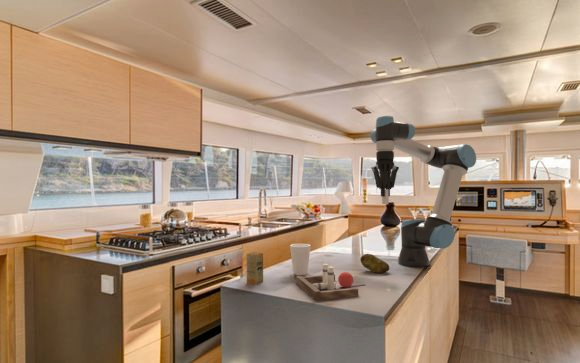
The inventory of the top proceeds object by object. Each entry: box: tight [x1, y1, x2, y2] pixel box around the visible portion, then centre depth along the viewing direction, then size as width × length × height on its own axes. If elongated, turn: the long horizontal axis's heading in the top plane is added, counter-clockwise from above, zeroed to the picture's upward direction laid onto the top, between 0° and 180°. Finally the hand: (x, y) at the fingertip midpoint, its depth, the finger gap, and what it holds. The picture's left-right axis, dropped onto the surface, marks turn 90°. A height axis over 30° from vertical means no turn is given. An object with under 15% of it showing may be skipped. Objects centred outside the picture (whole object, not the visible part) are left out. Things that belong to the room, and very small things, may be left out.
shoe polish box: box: [246, 251, 264, 285], centre depth 143 cm, size 5×5×12 cm
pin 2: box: [327, 266, 335, 291], centre depth 131 cm, size 2×2×9 cm
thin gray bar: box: [349, 283, 366, 288], centre depth 137 cm, size 8×1×1 cm, turn 107°
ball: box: [337, 271, 354, 289], centre depth 135 cm, size 6×6×6 cm
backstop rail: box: [295, 274, 359, 301], centre depth 133 cm, size 17×22×3 cm
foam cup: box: [289, 243, 311, 276], centre depth 158 cm, size 10×9×13 cm
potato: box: [359, 253, 390, 274], centre depth 160 cm, size 8×13×8 cm, turn 44°
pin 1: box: [322, 263, 330, 283], centre depth 136 cm, size 2×2×9 cm
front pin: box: [312, 281, 337, 291], centre depth 133 cm, size 2×2×9 cm
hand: (385, 204), depth 151 cm, fingers closed
